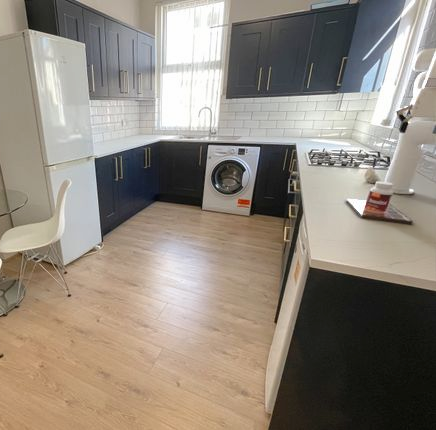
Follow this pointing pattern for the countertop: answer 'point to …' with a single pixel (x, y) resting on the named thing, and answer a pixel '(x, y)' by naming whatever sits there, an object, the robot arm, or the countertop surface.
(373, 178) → the stone
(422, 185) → the countertop surface
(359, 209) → the board
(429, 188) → the countertop surface
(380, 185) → the pill bottle
